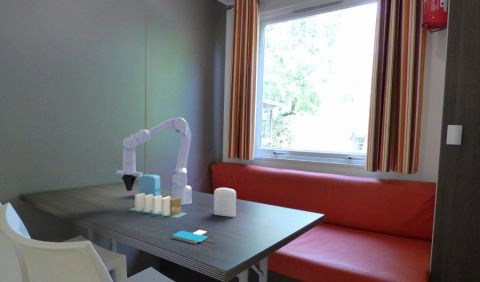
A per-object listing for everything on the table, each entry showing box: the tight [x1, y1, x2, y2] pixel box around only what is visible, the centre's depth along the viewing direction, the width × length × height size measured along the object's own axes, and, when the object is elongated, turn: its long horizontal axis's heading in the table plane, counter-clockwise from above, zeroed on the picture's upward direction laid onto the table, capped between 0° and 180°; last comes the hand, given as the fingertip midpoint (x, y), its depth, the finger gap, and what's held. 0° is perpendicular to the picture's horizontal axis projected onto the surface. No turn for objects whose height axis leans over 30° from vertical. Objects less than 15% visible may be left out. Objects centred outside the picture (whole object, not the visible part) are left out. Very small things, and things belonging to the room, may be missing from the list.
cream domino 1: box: [134, 193, 145, 210], centre depth 140 cm, size 2×5×7 cm, turn 157°
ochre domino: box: [170, 197, 182, 216], centre depth 132 cm, size 2×5×7 cm, turn 145°
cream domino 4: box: [161, 195, 172, 216], centre depth 134 cm, size 2×5×7 cm, turn 157°
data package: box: [138, 173, 161, 197], centre depth 167 cm, size 12×4×12 cm, turn 62°
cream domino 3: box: [152, 194, 163, 213], centre depth 136 cm, size 2×5×7 cm, turn 157°
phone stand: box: [171, 229, 217, 245], centre depth 107 cm, size 20×12×2 cm, turn 61°
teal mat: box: [128, 207, 188, 218], centre depth 136 cm, size 28×7×1 cm, turn 67°
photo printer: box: [213, 187, 237, 218], centre depth 132 cm, size 10×4×12 cm, turn 72°
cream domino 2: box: [143, 194, 153, 213], centre depth 138 cm, size 2×5×7 cm, turn 156°
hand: (129, 190), depth 142 cm, fingers closed
